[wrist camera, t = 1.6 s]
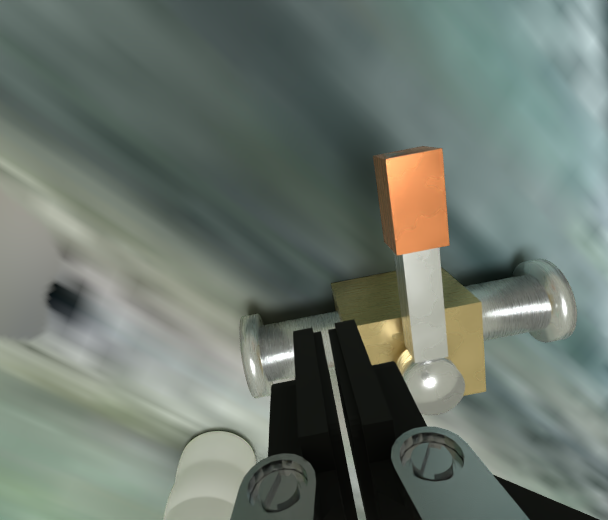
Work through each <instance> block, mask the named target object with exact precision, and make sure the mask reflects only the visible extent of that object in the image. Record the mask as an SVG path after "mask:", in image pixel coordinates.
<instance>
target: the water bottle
mask: <svg viewBox="0 0 608 520" xmlns="http://www.w3.org/2000/svg"><path fill="white" fill-rule="evenodd" d="M254 465H256V461H255V455H254V452H253V450H252V448H251V447H250V445H249V444H248V443H247V442H246V441H245V440H244V439H242V438H241V437H239V436H237V435H235V434H233V433H230V432H225V431H212V432H207V433H204V434H201V435H199V436H197V437H195V438H194V439H193V440H191V441H190V442H189V443H188V444H187V446H186V447H185V448H184V450H183V452H182V455H181V458H180V461H179V464H178V468H177V473H176V478H175V484H174V485H173V488H172V490H171V492H170V495H169V498H168V501H167V504H166V508H165V514H164V520H230V518H231V515H232V511H233V508H234V504H235V501H236V497H237V494H238V490H239V487H240V485H241V482H242V480H243V478H244V476H245V475H246V474H247V472H248V471H249V470H250V469H251V468H252V467H253V466H254Z"/></svg>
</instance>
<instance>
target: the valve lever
mask: <svg viewBox="0 0 608 520" xmlns="http://www.w3.org/2000/svg"><path fill="white" fill-rule="evenodd" d="M373 159H374V167H375V174H376V182H377V190H378V198H379V206H380V213H381V221H382V229H383V237H384V242H385V243H386V244H387V245H388V246H389V247H390V248H391V250H392V251H393V252H394V258H395V267H396V275H397V283H398V292H399V300H400V308H401V316H402V325H403V333H404V341H405V347H406V348H407V350H406V351H404V352H403V353H402V354H401V356H400V357H399V359H398V361H397V363H396V364H397V366H398V368H399V370H400V372H401V374H402V376H403V378H404V380H405V382H406V384H407V386H408V389H409V391H410V393H411V395H412V397H413V399H414V401H415V403H416V405H417V407H418V409H419V411H420V413H421V414H425V415H438V414H442V413H445V412H447V411H449V410H451V409H452V408H454V407H455V406H456V405H457V404H458V403H459V402H460V400H461V399H462V397H463V395H464V392H465V381H464V378H463V376H462V374H461V373H460V372H459V370H458V369H457V368H456V366H455V365H454V363H453V362H452V361H451V359H450V358H449V357H448V346H447V334H446V322H445V310H444V298H443V286H442V274H441V262H440V250H439V247H444V246H449V233H448V219H447V206H446V192H445V179H444V165H443V152H442V148H435V147H426V146H421V147H416V148H411V149H406V150H401V151H396V152H390V153H385V154H380V155H375V156H373Z"/></svg>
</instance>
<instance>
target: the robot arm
mask: <svg viewBox="0 0 608 520" xmlns="http://www.w3.org/2000/svg"><path fill="white" fill-rule="evenodd" d="M328 334H329V339H330V344H331V350H332V355H333V360H334V365H335V371H336V376H337V381H338V387H339V392H340V397H341V403H342V408H343V413H344V418H345V423H346V428H347V432H348V437H349V442H350V446H351V451H352V455H353V460H354V465H355V469H356V474H357V478H358V483H359V488H360V492H361V497H362V501H363V506H364V511H365V515H366V520H599V519H596V518H594V517H592V516H589V515H587V514H585V513H582V512H580V511H578V510H575V509H573V508H570V507H568V506H566V505H563V504H561V503H559V502H556V501H554V500H552V499H549V498H547V497H544V496H542V495H540V494H537V493H535V492H533V491H530V490H528V489H526V488H523V487H521V486H518V485H516V484H514V483H511V482H509V481H507V480H504V479H502V478H500V477H497V476H495V475H493V474H492V473H491V472H490V471H489V470H488V468H487V467H486V466H485V465H484V463H483V462H482V461H481V460H480V459H479V457H478V456H477V455H476V454H475V452H474V451H473V450H472V449H471V448H470V446H469V445H468V444H467V443H466V442H465V441H464V440H463V439H462V438H461V437H459V436H458V435H456V434H454V433H452V432H451V431H449V430H446V429H442V428H438V427H427V425H426V423H425V421H424V419H423V417H422V415H421V413H420V411H419V409H418V407H417V405H416V403H415V401H414V399H413V397H412V395H411V393H410V391H409V389H408V386H407V384H406V382H405V380H404V378H403V376H402V374H401V372H400V370H399V368H398V366H397V364H396V363H395V362H394V361H391V362H386V363H381V364H376V365H372V364H371V362H370V359H369V356H368V354H367V351H366V349H365V346H364V343H363V341H362V338H361V336H360V333H359V330H358V328H357V325H356V322H355V320H354V319H353V320H348V321H343V322H338V323H335V328H334V329H329V330H328ZM293 345H294V364H295V380H292V381H287V382H282V383H277V384H272V386H271V401H270V424H269V448H268V458H265V459H263V460H261V461H260V462H258V463H257V464H256V465H254V466H253V467H252V468H251V469H250V470H249V471H248V472H247V474H246V475H245V476H244V478H243V480H242V482H241V485H240V487H239V490H238V494H237V497H236V501H235V504H234V508H233V511H232V515H231V518H230V520H358V518H357V513H356V508H355V503H354V498H353V492H352V487H351V482H350V477H349V472H348V467H347V462H346V456H345V451H344V446H343V441H342V436H341V431H340V426H339V420H338V415H337V410H336V405H335V400H334V395H333V390H332V385H331V379H330V374H329V369H328V364H327V359H326V354H325V349H324V343H323V338H322V333H321V331H319V332H313V328H306V329H301V330H296V331H293Z"/></svg>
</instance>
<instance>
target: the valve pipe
mask: <svg viewBox="0 0 608 520" xmlns="http://www.w3.org/2000/svg"><path fill="white" fill-rule="evenodd" d="M441 274H442V286H443V298H444V310H445V322H446V334H447V346H448V357H449V358H450V359H451V361H452V362H453V363H454V365H455V366H456V368H457V369H458V370H459V372H460V373H461V374H462V376H463V378H464V381H465V392H464V395H463V396H465V395H470V394H475V393H480V392H485V391H486V381H485V361H484V341H485V340H490V339H496V338H501V337H506V336H511V335H516V334H522V333H527V332H529V333H530V334H531V335H532V336H533V337H534V338H535V339H537V340H539V341H541V342H552V341H557V340H562V339H566V338H568V337H569V336H570V335H571V334H572V333H573V331H574V329H575V326H576V321H577V309H576V303H575V298H574V295H573V292H572V289H571V287H570V285H569V283H568V281H567V279H566V278H565V276H564V275H563V273H562V272H561V271H560V270H559V269H558V268H557V267H556V266H555V265H554V264H553V263H551V262H550V261H547V260H544V259H537V260H532V261H527V262H522V263H520V264H518V265H517V266H516V268H515V270H514V272H513V275H512V277H511V278H505V279H500V280H495V281H490V282H485V283H480V284H474V285H469V286H463V285H461V284H460V283H459V282H458V281H457V280H456V279H454V278H453V277H452V276H451V275H450V274H449V273H447V272H446V271H445V270H444V269H443V268H442V267H441ZM331 287H332V293H333V298H334V304H335V309H336V311H335V312H330V313H325V314H319V315H314V316H309V317H304V318H299V319H294V320H288V321H283V322H278V323H273V324H268V325H264V324H263V321H262V319H261V317H260V315H259V314H253V315H248V316H243V317H242V318H241V320H240V348H241V356H242V362H243V368H244V372H245V377H246V381H247V384H248V387H249V390H250V392H251V394H252V396H253V397H254V398H260V397H266V396H271V386H272V384H273V381H277V380H282V379H288V378H293V377H295V364H294V345H293V331H296V330H301V329H306V328H313V332H319V331H321V333H322V338H323V343H324V349H325V354H326V359H327V364H328V369H329V370H334V369H335V365H334V360H333V355H332V350H331V344H330V339H329V334H328V330H329V329H334V328H335V323H338V322H343V321H348V320H353V319H354V320H355V322H356V325H357V328H358V330H359V333H360V336H361V338H362V341H363V343H364V346H365V349H366V351H367V354H368V356H369V359H370V362H371V364H372V365H376V364H381V363H386V362H391V361H394V362H395V363H397V361H398V359H399V357H400V356H401V354H402V353H403V352H404V351H406V350H407V348H406V347H405V341H404V333H403V325H402V316H401V308H400V300H399V292H398V283H397V275H396V271H392V272H387V273H382V274H377V275H371V276H366V277H361V278H356V279H351V280H346V281H341V282H335V283H331Z"/></svg>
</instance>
